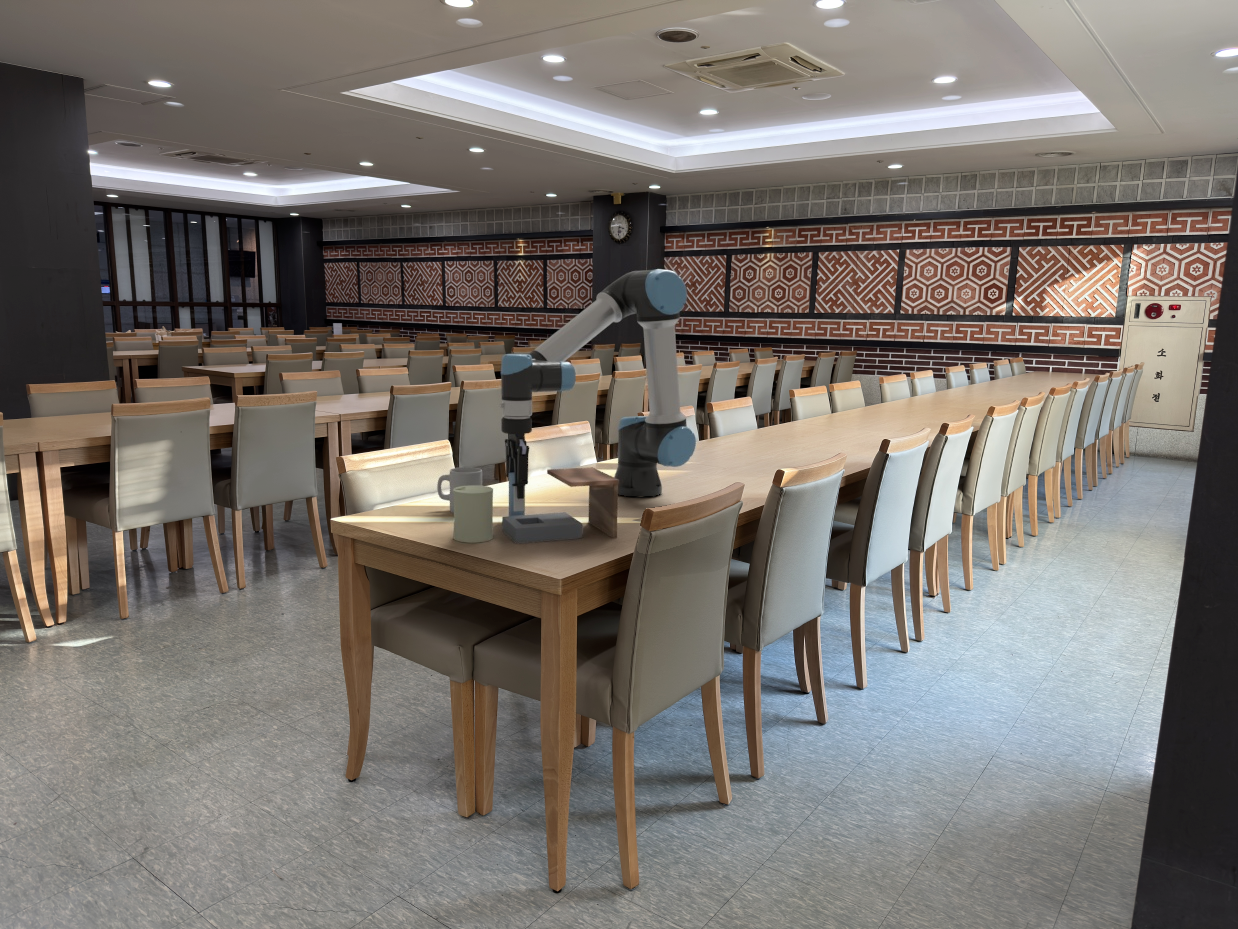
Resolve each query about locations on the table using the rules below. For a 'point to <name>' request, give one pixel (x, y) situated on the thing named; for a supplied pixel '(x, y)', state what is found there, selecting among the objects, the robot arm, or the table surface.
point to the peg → (512, 497)
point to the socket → (541, 527)
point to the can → (473, 513)
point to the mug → (459, 481)
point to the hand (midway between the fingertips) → (516, 508)
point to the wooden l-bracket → (595, 495)
